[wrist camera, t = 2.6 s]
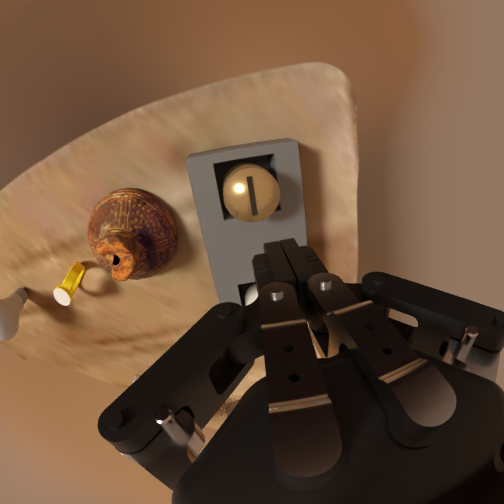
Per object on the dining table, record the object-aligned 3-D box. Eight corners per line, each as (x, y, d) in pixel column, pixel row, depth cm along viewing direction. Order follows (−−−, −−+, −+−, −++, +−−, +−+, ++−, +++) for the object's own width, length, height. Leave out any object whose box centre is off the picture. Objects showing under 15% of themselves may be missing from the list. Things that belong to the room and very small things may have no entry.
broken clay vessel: (181, 273, 35) (174, 307, 28) (99, 272, 33) (79, 304, 27) (176, 184, 30) (164, 202, 23) (84, 190, 28) (55, 209, 22)
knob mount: (302, 297, 39) (309, 315, 35) (226, 312, 38) (227, 331, 35) (287, 138, 29) (297, 140, 25) (189, 154, 28) (185, 159, 25)
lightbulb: (41, 292, 33) (9, 336, 24) (33, 311, 35) (6, 354, 25) (16, 268, 31) (-20, 308, 21) (9, 290, 32) (-21, 329, 23)
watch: (81, 290, 34) (65, 316, 29) (67, 280, 33) (49, 305, 28) (93, 263, 32) (75, 289, 27) (77, 252, 31) (57, 277, 26)
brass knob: (274, 204, 28) (283, 217, 25) (227, 213, 28) (229, 227, 25) (268, 158, 26) (277, 164, 22) (218, 166, 26) (218, 173, 22)
